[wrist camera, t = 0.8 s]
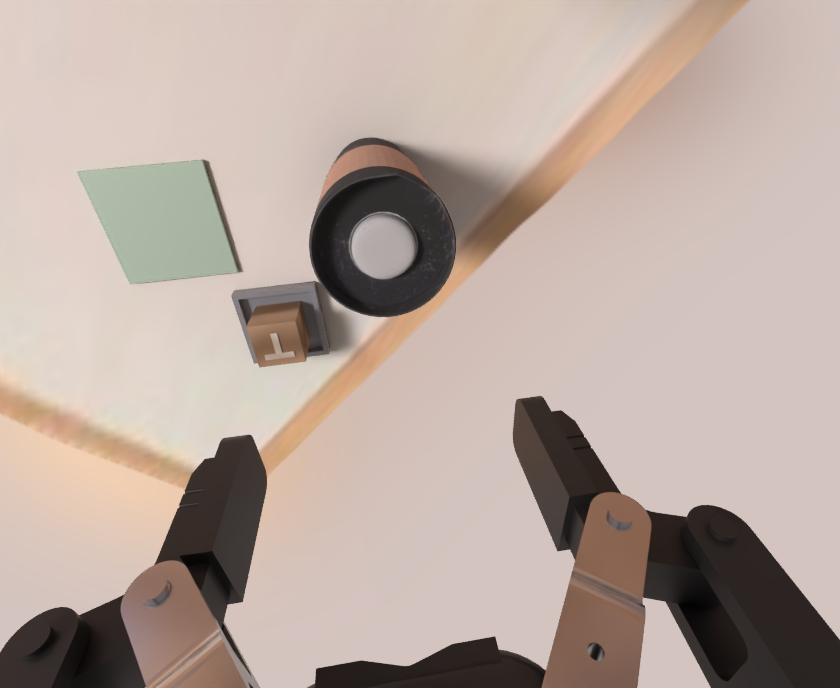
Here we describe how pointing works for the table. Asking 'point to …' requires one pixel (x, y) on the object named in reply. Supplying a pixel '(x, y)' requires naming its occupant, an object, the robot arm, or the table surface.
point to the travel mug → (380, 232)
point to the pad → (161, 220)
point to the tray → (282, 294)
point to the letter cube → (279, 333)
